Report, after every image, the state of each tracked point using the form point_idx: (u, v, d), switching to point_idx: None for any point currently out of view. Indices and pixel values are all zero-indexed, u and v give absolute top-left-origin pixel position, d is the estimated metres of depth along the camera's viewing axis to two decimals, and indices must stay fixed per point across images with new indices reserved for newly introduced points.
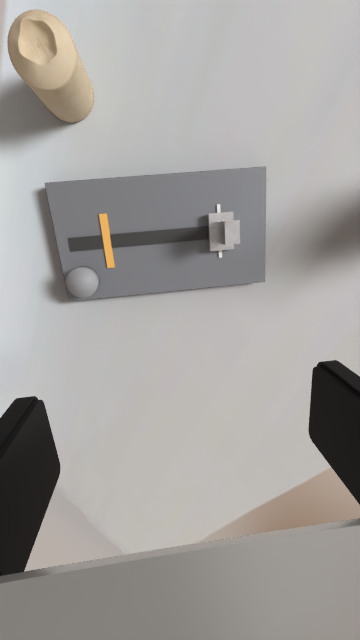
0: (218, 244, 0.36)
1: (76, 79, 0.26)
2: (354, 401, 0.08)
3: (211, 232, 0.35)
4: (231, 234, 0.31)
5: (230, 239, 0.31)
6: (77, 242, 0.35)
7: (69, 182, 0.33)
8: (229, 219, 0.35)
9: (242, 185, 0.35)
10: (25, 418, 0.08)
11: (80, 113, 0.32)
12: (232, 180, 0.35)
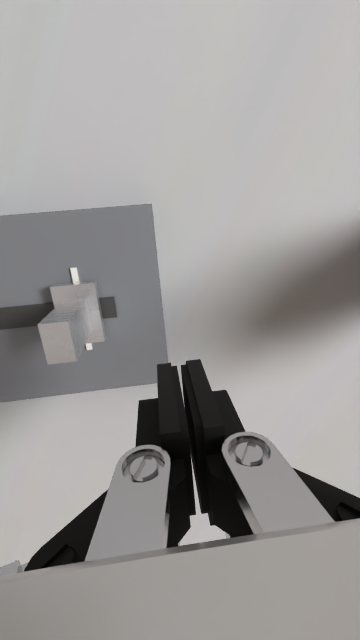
0: None
1: None
2: (187, 395, 0.09)
3: None
4: (56, 347, 0.16)
5: (56, 355, 0.16)
6: None
7: None
8: (89, 295, 0.20)
9: (112, 235, 0.20)
10: (176, 378, 0.10)
11: None
12: (93, 227, 0.20)
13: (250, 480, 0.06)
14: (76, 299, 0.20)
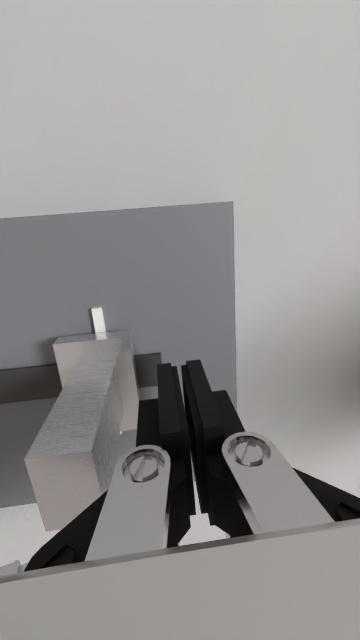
0: None
1: None
2: (187, 396, 0.09)
3: None
4: (65, 499, 0.07)
5: (64, 513, 0.08)
6: None
7: None
8: (120, 357, 0.12)
9: (164, 255, 0.12)
10: (176, 378, 0.10)
11: None
12: (133, 240, 0.12)
13: (250, 480, 0.06)
14: (98, 365, 0.12)
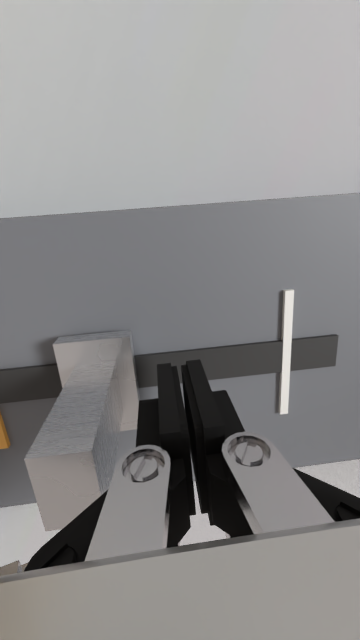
0: None
1: None
2: (187, 395, 0.09)
3: None
4: (64, 499, 0.07)
5: (63, 513, 0.08)
6: None
7: None
8: (120, 357, 0.12)
9: (358, 239, 0.13)
10: (176, 378, 0.10)
11: None
12: (333, 225, 0.12)
13: (250, 480, 0.06)
14: (98, 365, 0.12)
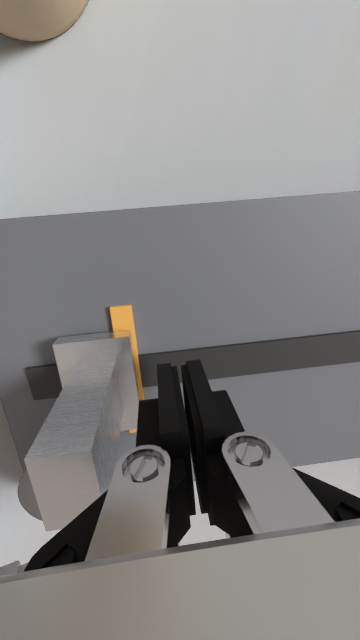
0: None
1: None
2: (187, 396, 0.09)
3: None
4: (64, 499, 0.07)
5: (64, 513, 0.08)
6: (50, 378, 0.13)
7: (22, 221, 0.11)
8: (120, 357, 0.12)
9: None
10: (176, 378, 0.10)
11: None
12: None
13: (250, 480, 0.06)
14: (98, 365, 0.12)
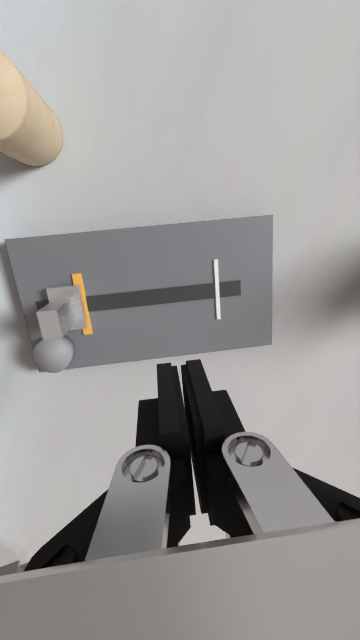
0: None
1: (30, 124, 0.20)
2: (187, 395, 0.09)
3: None
4: (49, 327, 0.24)
5: (48, 333, 0.24)
6: None
7: (34, 238, 0.28)
8: (74, 294, 0.28)
9: (244, 237, 0.29)
10: (176, 378, 0.10)
11: (45, 157, 0.26)
12: (232, 231, 0.29)
13: (250, 480, 0.06)
14: (65, 297, 0.28)
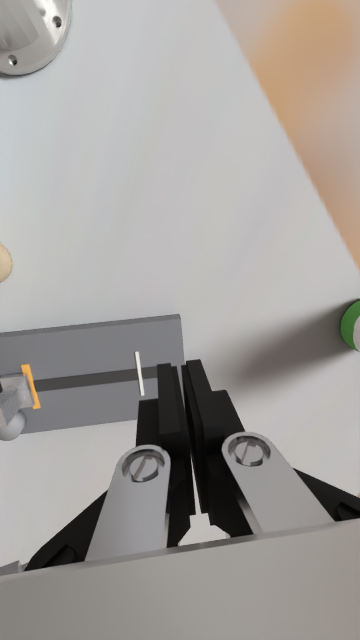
0: None
1: None
2: (187, 395, 0.09)
3: None
4: None
5: None
6: (2, 389, 0.37)
7: None
8: (22, 382, 0.36)
9: (159, 335, 0.37)
10: (176, 378, 0.10)
11: None
12: (149, 330, 0.37)
13: (250, 480, 0.06)
14: (14, 385, 0.36)
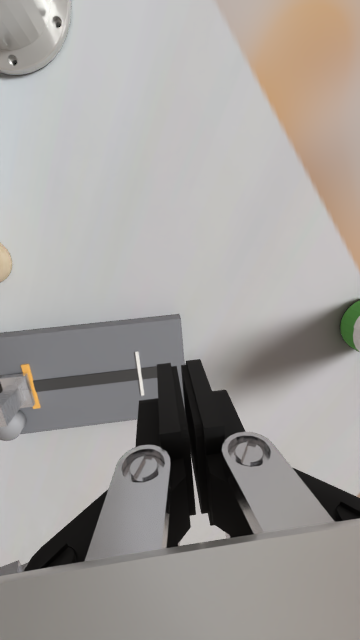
0: None
1: None
2: (187, 395, 0.09)
3: None
4: None
5: None
6: (2, 389, 0.37)
7: None
8: (22, 382, 0.36)
9: (159, 335, 0.37)
10: (176, 378, 0.10)
11: None
12: (149, 330, 0.37)
13: (250, 480, 0.06)
14: (14, 385, 0.36)
